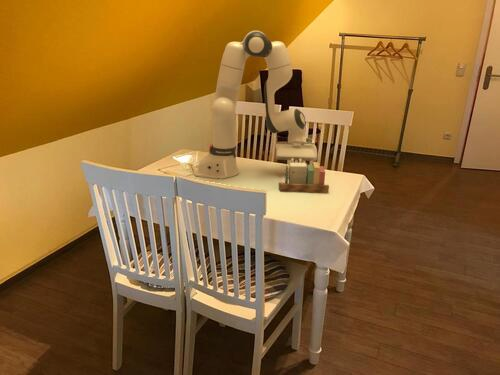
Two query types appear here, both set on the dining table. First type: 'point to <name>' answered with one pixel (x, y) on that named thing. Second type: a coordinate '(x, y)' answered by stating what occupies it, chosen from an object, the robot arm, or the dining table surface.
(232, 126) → the robot arm
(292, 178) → the small box
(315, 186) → the walnut rail
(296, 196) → the dining table surface
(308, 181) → the upright books
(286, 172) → the bookend
